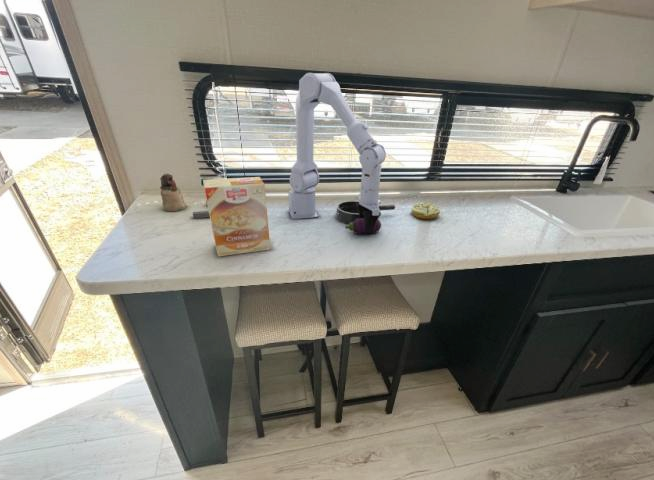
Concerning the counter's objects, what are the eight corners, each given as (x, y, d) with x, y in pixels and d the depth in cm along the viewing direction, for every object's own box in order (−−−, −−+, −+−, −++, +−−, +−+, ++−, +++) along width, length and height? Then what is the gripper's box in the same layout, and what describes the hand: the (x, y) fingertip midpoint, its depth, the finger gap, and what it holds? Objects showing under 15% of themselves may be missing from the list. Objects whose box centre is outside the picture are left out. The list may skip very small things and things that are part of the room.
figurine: (178, 203, 124) (170, 169, 117) (189, 207, 121) (182, 173, 114) (160, 207, 119) (150, 173, 112) (171, 213, 116) (161, 178, 109)
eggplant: (377, 228, 116) (378, 214, 113) (382, 234, 112) (384, 220, 109) (343, 231, 112) (343, 217, 110) (347, 237, 109) (348, 223, 106)
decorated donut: (405, 214, 128) (406, 204, 126) (421, 208, 135) (423, 199, 132) (427, 222, 123) (429, 212, 120) (443, 216, 129) (445, 206, 127)
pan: (342, 226, 116) (342, 215, 113) (332, 212, 126) (333, 201, 123) (376, 223, 119) (378, 212, 117) (365, 210, 129) (365, 200, 127)
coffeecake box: (217, 257, 93) (203, 187, 82) (215, 246, 98) (201, 178, 87) (271, 250, 99) (265, 183, 87) (266, 239, 104) (259, 175, 92)
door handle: (190, 218, 107) (241, 212, 111) (195, 197, 123) (240, 193, 126) (193, 227, 109) (243, 222, 113) (197, 206, 125) (242, 201, 128)
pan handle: (371, 211, 122) (371, 206, 121) (369, 209, 123) (370, 205, 122) (395, 210, 125) (396, 205, 124) (393, 208, 126) (394, 203, 125)
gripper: (390, 194, 99) (385, 236, 107) (373, 180, 110) (370, 219, 118) (368, 195, 97) (364, 238, 105) (353, 180, 108) (351, 220, 116)
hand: (366, 228), depth 112 cm, fingers closed on eggplant, 5 cm apart
